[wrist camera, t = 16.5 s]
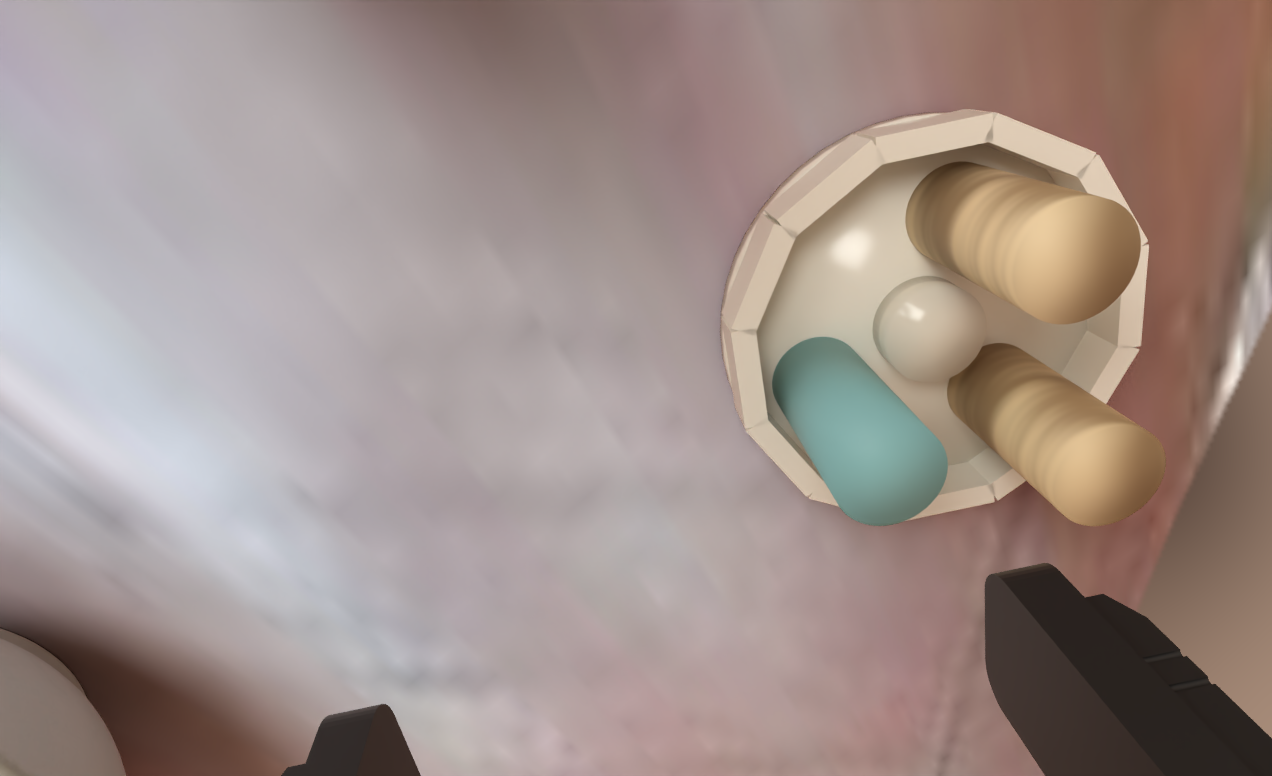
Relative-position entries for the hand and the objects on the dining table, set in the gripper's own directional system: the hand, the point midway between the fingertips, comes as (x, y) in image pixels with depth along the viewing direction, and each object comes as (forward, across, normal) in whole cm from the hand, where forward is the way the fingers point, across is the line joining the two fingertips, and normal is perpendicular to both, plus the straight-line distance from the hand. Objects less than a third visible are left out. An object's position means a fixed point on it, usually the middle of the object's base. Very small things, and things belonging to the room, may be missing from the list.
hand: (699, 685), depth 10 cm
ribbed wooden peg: (+29, +19, -12) cm, 37 cm away
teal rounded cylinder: (+29, +9, -10) cm, 32 cm away
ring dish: (+30, +15, -8) cm, 35 cm away
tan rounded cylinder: (+29, +17, -3) cm, 34 cm away
